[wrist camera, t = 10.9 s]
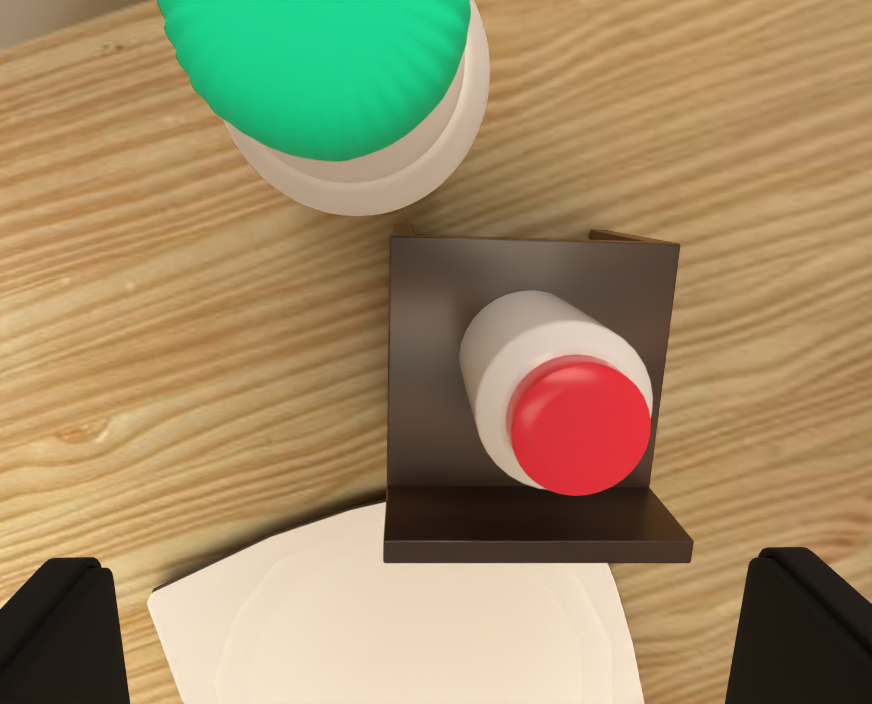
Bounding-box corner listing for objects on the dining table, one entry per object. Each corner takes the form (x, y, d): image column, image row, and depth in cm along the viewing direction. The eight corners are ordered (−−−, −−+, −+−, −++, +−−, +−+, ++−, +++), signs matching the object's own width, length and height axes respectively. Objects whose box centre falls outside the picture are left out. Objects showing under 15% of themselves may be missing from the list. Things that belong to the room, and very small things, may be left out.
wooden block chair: (393, 224, 34) (386, 244, 20) (607, 230, 35) (738, 254, 21) (391, 427, 37) (382, 564, 23) (588, 430, 38) (691, 563, 24)
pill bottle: (483, 441, 27) (516, 546, 19) (439, 317, 26) (455, 374, 18) (610, 397, 27) (699, 486, 19) (574, 270, 25) (653, 306, 17)
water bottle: (441, 58, 32) (547, -361, 8) (452, 198, 34) (568, 211, 10) (304, 70, 32) (-21, -319, 8) (323, 210, 34) (109, 256, 9)
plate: (576, 430, 37) (589, 448, 35) (660, 782, 45) (676, 818, 42) (132, 556, 38) (112, 582, 36) (286, 881, 45) (279, 923, 43)
